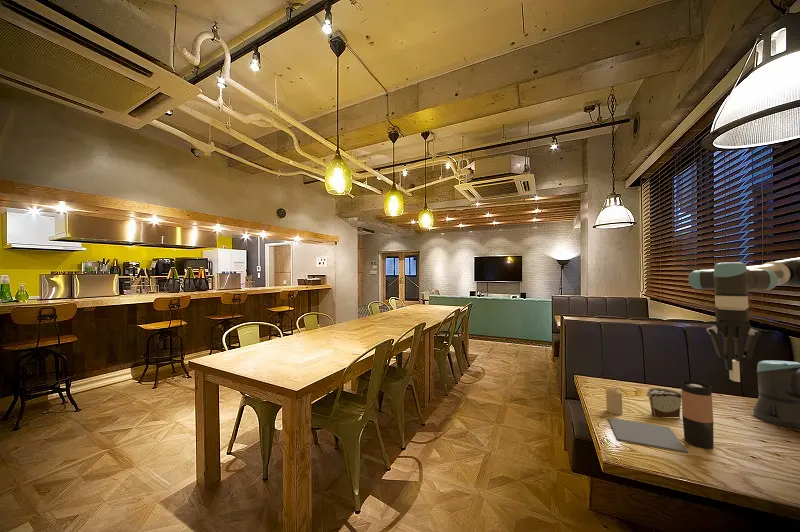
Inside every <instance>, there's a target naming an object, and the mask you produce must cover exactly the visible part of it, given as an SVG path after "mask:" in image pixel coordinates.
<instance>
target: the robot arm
mask: <svg viewBox="0 0 800 532" xmlns="http://www.w3.org/2000/svg"><path fill="white" fill-rule="evenodd" d="M687 279H688V284H689V285H690V287H691V288H693V289H696V290H704V291H705V290H712V291H713V290H714V292H715V293H714V302H715V304H714V305H715V307H716V309H715V322H714V324H713V326H711V327H706V328H705V331H706V333H708V335H709V336H710V339H711V342H712V345H713V347H714V351H715V353H716V356H717V357H719V358H722V359H724V366H725V369H726V370H728V372H729V373H728V375H729V380H731V381H732V382H736V383H737V382H738V383H741V372H743V371H744V363H745V362H746V361H752V357H753V354H754V351H755V347H756V345H757V341H758V338H760V336H762V331H758V330H757V329H754V328H753V327H752V325H751V324H750V318H749V317H750V314H749V312H750V311H748V309H749V297H748V296H749V295H748V294H749V293H748V291H749V292H750V291H751V292H763V291H771V290H772V289H774V288H776V286H788V287H800V257H794V258H789V259H782V260H775V261H769V262H765V263H762V264H759V265H748V266H747V264H746V263H744V262H718V263H715V264H714V265H713V269H699V270H697V269H696V270H693V271H691V272H690V273H689V275H688V278H687ZM718 331H719V333H720V334H721V335H722V339H723V340H722V341H723V346H722V343H721V340H720V337H719V335H718ZM746 334H748V336H747V338H746V341H745V344H744V340H745V339H744V336H745V335H746ZM733 349H734V350H733ZM733 351H734V352H733ZM733 355H734V357H733ZM756 373H757V387H758V398H757V400H756V401H755V404H754V406H753V408H752V409H753V411H752V413H753V416H755V417H756V418H758V419H759V420H762V421H764V422H767V423H771V424H774V425H777V426H782V427H786V428H792V429H796V430H797V429H798V430H800V362H797V361H789V360H788V361H787V360H772V359H771V360H770V359H769V360H761V361H758V363H757V368H756Z"/></svg>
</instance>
